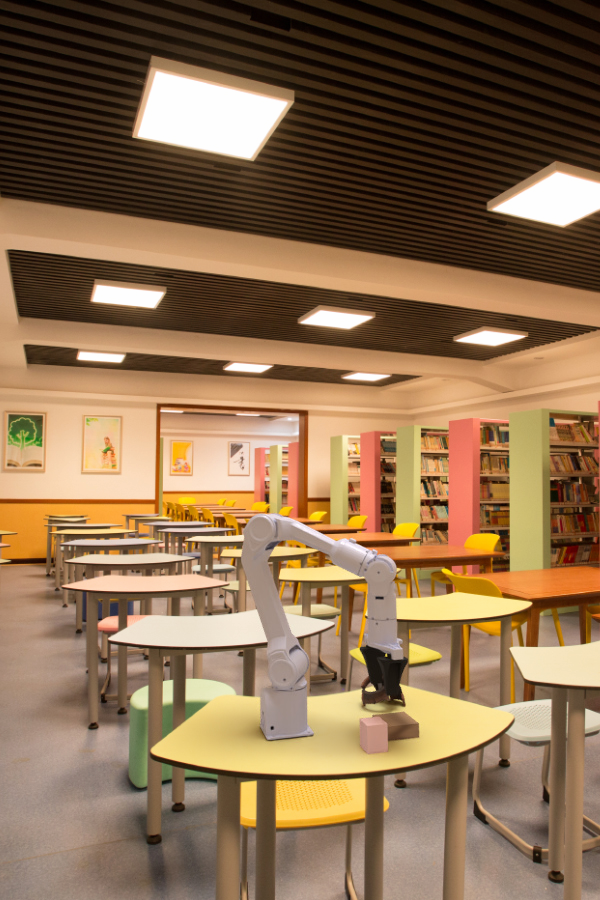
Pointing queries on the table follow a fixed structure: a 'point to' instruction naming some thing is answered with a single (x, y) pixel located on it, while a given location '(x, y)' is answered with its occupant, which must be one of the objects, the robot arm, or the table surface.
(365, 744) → the pink block
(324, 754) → the table surface
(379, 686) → the brown curved piece
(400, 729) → the brown block
